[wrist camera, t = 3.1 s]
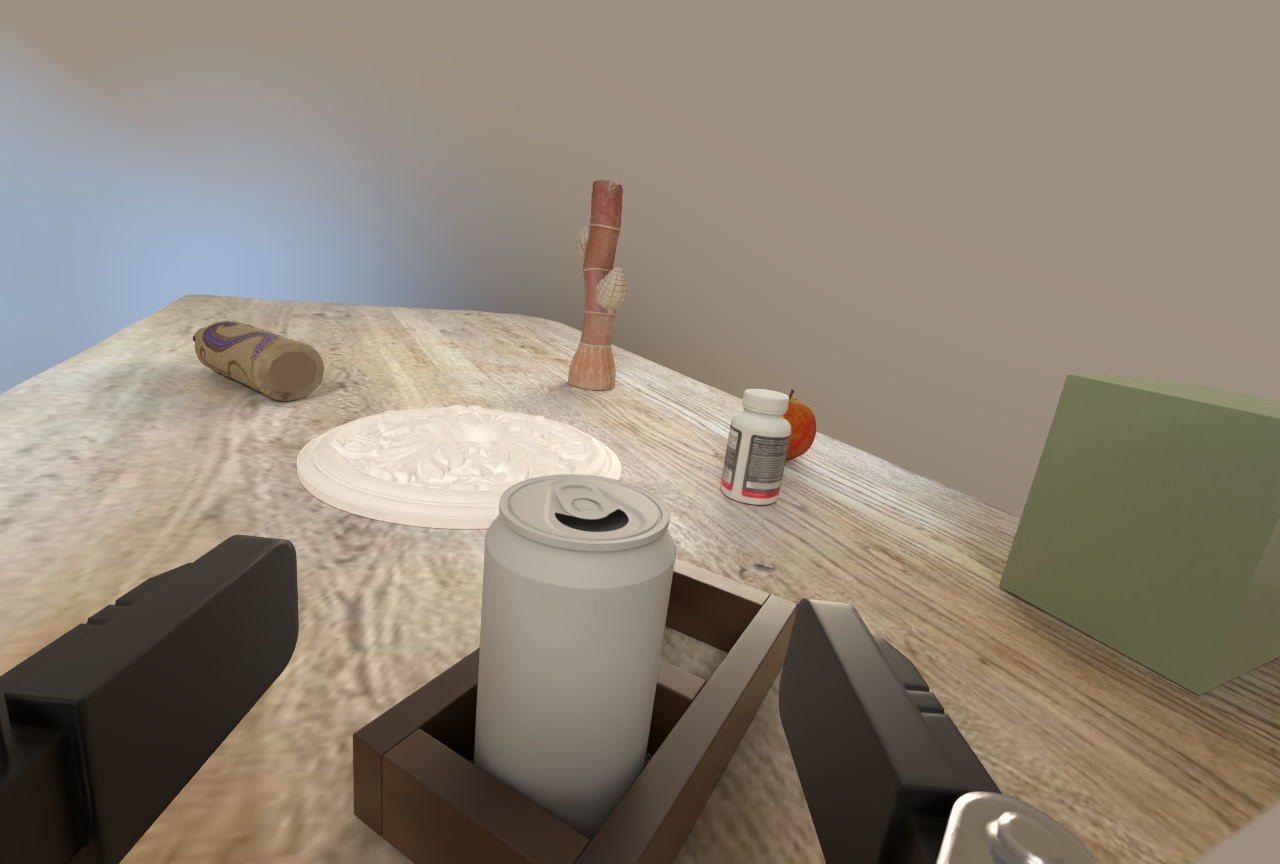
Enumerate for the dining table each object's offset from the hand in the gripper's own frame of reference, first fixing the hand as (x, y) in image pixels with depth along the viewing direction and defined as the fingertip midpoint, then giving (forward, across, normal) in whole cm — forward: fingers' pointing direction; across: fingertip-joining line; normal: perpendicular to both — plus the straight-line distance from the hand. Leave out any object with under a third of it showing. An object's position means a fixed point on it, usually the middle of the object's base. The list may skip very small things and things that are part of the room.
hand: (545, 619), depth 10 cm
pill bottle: (+44, -14, +14) cm, 48 cm away
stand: (+28, -38, +14) cm, 49 cm away
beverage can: (+10, 0, +14) cm, 18 cm away
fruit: (+57, -20, +14) cm, 62 cm away
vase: (+85, +4, +14) cm, 86 cm away
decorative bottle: (+65, +44, +15) cm, 80 cm away
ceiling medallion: (+45, +12, +14) cm, 48 cm away
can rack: (+14, -2, +14) cm, 20 cm away
